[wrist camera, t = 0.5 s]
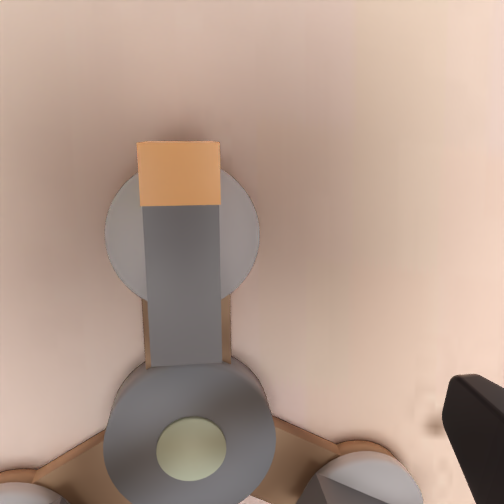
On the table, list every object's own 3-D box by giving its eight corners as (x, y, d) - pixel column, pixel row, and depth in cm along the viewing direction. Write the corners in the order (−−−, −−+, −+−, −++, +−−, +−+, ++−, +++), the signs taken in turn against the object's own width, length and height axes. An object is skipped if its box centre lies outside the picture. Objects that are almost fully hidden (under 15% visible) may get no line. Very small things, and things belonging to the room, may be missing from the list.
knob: (256, 310, 22) (276, 360, 17) (114, 317, 21) (93, 371, 17) (256, 140, 20) (278, 142, 16) (101, 141, 20) (73, 142, 15)
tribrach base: (418, 497, 28) (440, 531, 25) (106, 682, 28) (98, 734, 25) (205, 136, 21) (208, 135, 19) (-196, 378, 21) (-244, 408, 19)
